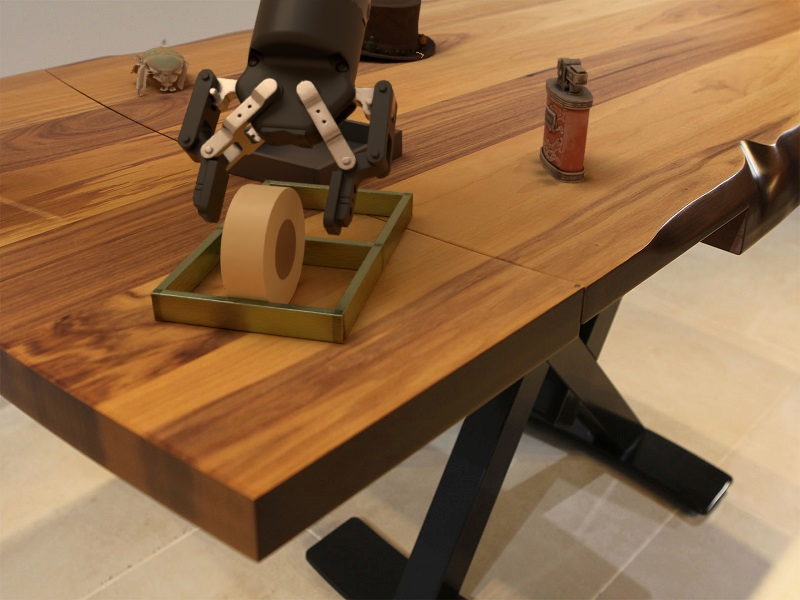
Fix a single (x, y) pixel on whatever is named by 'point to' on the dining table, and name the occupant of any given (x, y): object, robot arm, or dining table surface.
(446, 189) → the dining table surface
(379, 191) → the rack
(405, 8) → the top hat
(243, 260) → the tape
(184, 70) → the crab toy
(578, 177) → the lighter
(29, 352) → the dining table surface
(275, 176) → the tray
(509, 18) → the dining table surface
